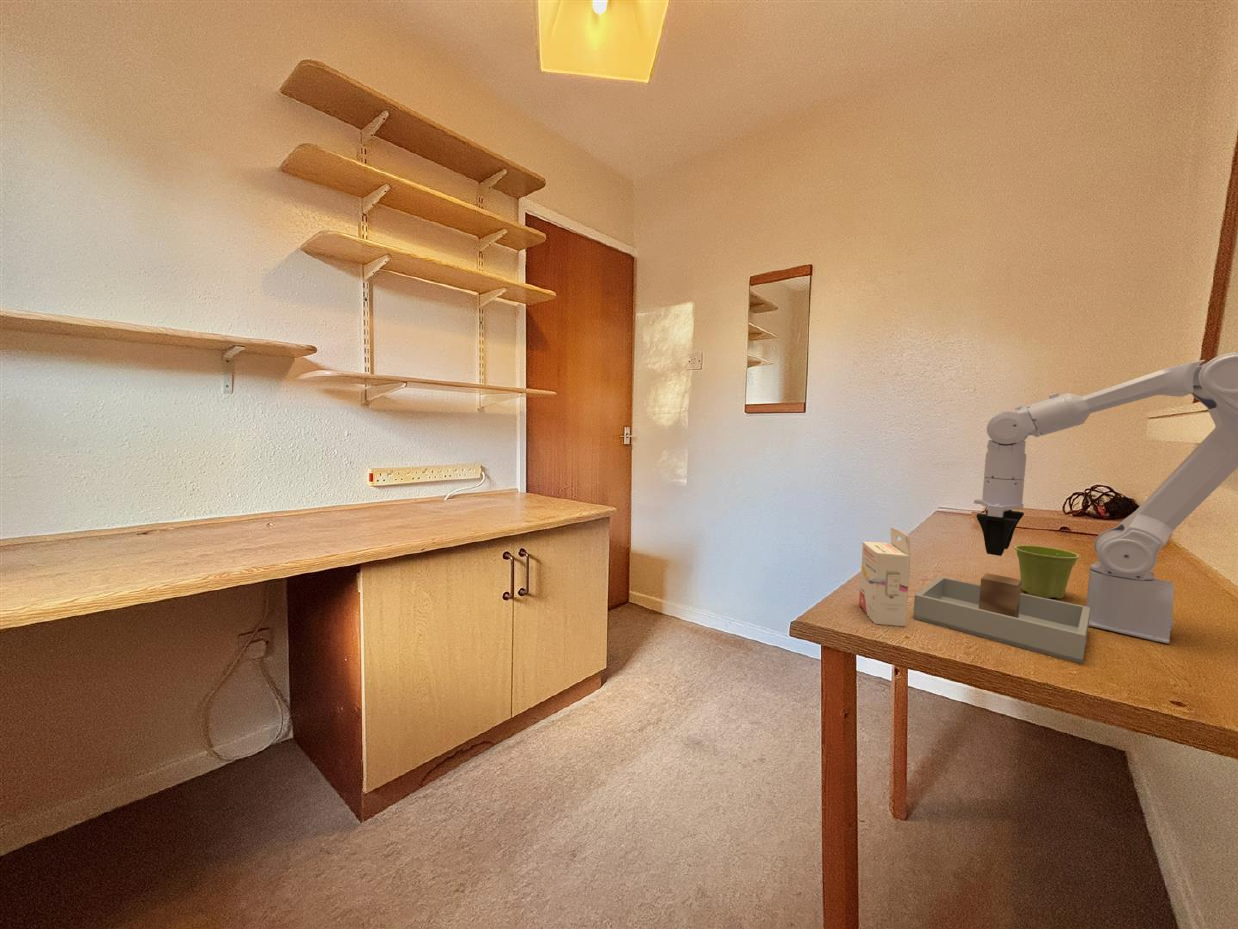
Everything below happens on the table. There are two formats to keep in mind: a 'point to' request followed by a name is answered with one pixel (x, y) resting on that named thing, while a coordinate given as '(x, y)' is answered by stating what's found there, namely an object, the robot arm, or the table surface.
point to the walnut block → (1000, 594)
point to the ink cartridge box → (885, 579)
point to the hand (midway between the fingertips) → (997, 551)
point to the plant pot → (1045, 570)
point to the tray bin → (1007, 619)
